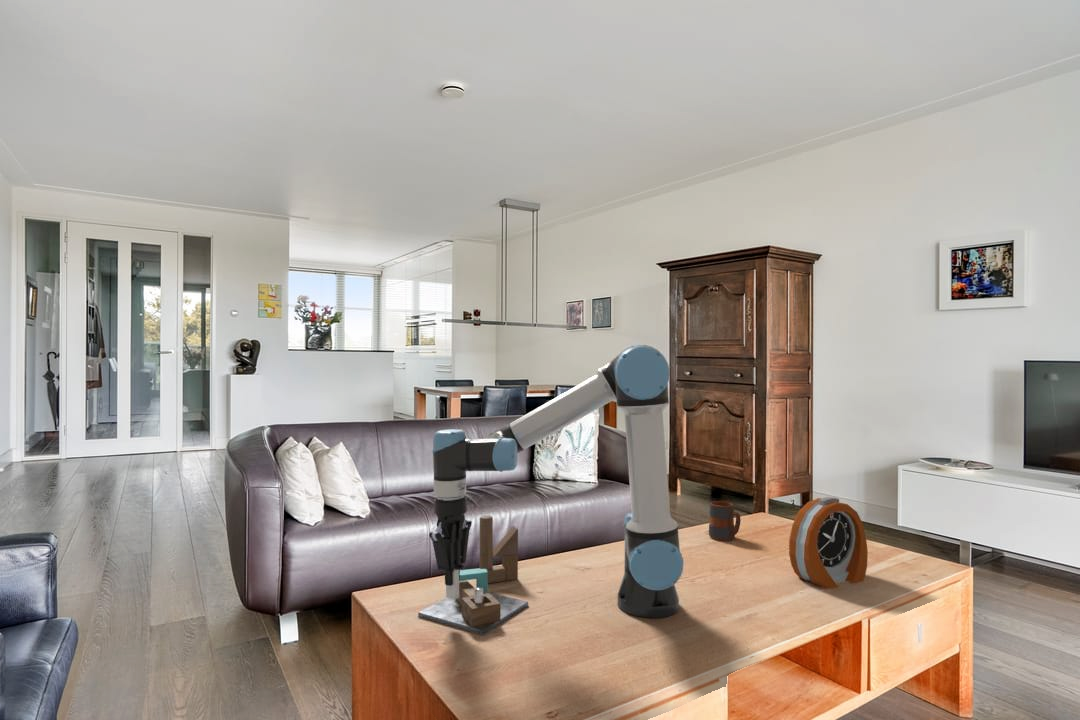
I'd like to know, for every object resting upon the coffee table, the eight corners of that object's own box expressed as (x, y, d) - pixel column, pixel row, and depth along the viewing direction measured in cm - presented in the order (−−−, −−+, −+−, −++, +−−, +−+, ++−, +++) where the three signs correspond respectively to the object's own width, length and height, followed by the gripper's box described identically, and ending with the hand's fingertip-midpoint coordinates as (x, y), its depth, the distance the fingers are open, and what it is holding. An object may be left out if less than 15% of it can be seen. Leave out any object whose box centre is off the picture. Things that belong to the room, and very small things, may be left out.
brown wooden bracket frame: (518, 579, 173) (518, 515, 173) (481, 585, 169) (481, 519, 169) (513, 575, 176) (513, 511, 176) (477, 580, 172) (477, 515, 172)
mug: (731, 545, 204) (731, 510, 204) (703, 536, 214) (703, 502, 214) (748, 541, 209) (748, 506, 209) (720, 532, 219) (720, 499, 219)
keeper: (488, 602, 157) (488, 572, 157) (454, 606, 154) (454, 576, 154) (485, 596, 161) (485, 567, 161) (451, 601, 158) (451, 571, 158)
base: (528, 605, 155) (528, 573, 155) (482, 635, 139) (482, 599, 139) (467, 590, 165) (467, 560, 165) (418, 616, 149) (418, 583, 148)
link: (500, 620, 144) (500, 603, 144) (471, 626, 141) (471, 608, 141) (472, 593, 161) (472, 577, 161) (446, 597, 157) (446, 582, 157)
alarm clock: (816, 591, 165) (816, 506, 165) (787, 579, 174) (788, 498, 174) (874, 579, 174) (874, 498, 174) (844, 568, 183) (844, 491, 183)
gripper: (444, 504, 138) (447, 610, 138) (480, 492, 149) (482, 590, 149) (419, 500, 142) (421, 604, 142) (455, 489, 153) (457, 585, 153)
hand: (452, 597), depth 145 cm, fingers closed
